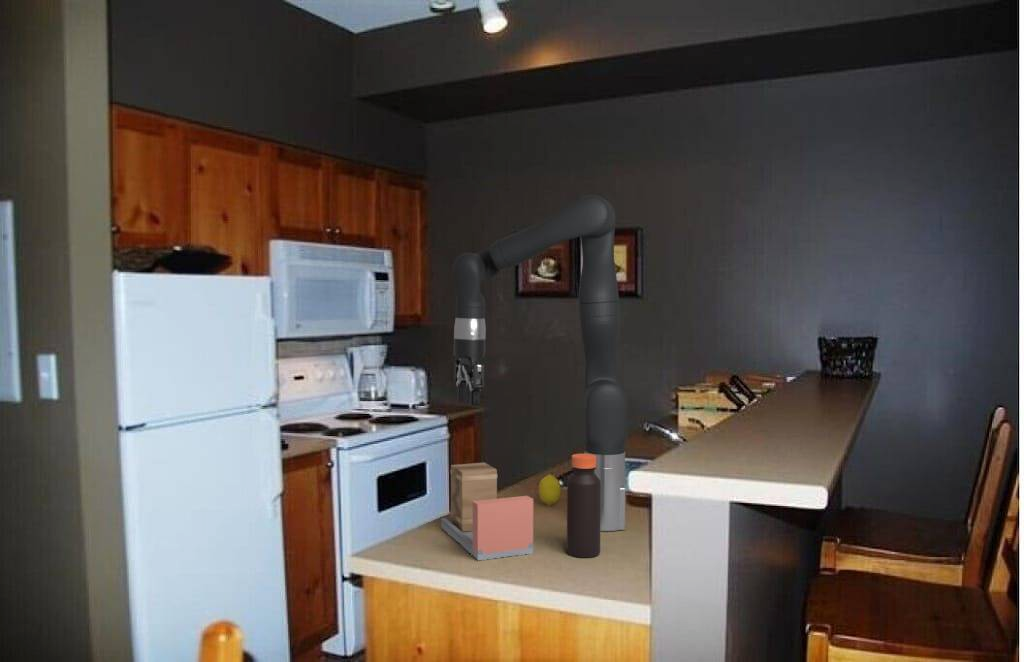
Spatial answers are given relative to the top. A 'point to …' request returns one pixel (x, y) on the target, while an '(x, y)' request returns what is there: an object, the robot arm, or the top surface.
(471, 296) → the robot arm
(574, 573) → the top surface
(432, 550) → the top surface
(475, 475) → the crate
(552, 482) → the lemon
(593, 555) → the bottle
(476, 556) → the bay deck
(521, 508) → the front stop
